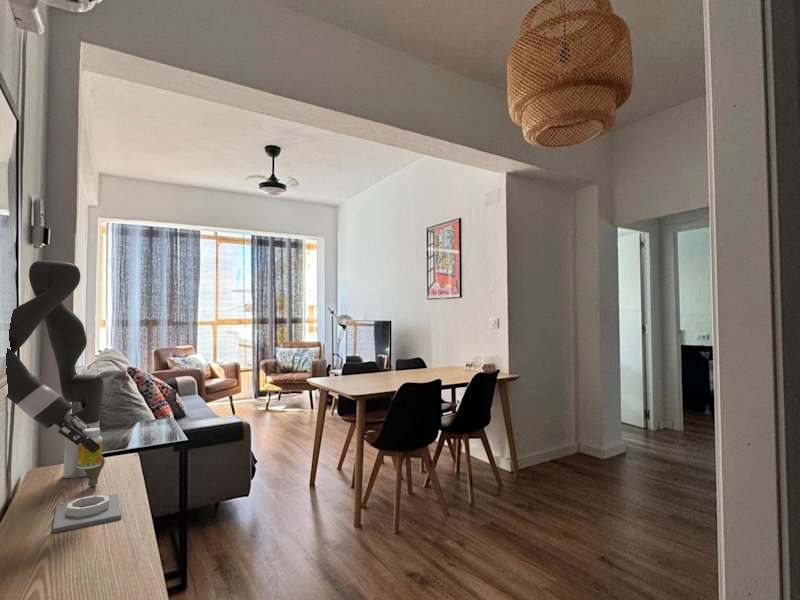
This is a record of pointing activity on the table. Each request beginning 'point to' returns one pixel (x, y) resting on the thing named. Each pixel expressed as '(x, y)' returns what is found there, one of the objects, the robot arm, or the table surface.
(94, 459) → the supplement bottle
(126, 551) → the table surface
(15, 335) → the robot arm
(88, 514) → the collar plate
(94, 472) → the light bulb
